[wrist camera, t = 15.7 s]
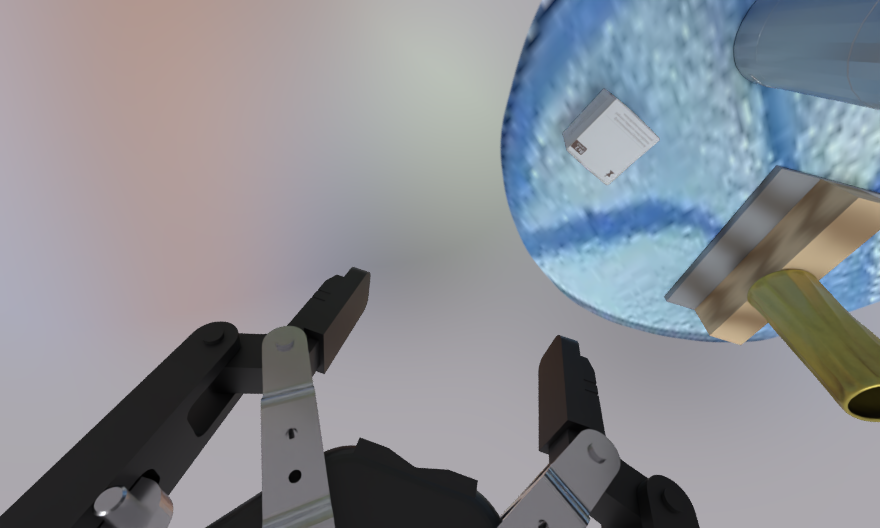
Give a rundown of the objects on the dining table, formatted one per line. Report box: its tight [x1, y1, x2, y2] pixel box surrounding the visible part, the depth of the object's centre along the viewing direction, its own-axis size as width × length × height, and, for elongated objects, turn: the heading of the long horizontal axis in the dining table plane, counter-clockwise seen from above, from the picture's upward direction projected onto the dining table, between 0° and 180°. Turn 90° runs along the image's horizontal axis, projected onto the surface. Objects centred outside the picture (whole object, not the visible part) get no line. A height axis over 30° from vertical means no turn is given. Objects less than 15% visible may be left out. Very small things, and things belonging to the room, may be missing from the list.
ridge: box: [665, 166, 880, 345], centre depth 39 cm, size 20×12×6 cm, turn 168°
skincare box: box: [563, 89, 660, 185], centre depth 34 cm, size 6×6×7 cm
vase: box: [747, 269, 880, 422], centre depth 31 cm, size 6×6×14 cm
